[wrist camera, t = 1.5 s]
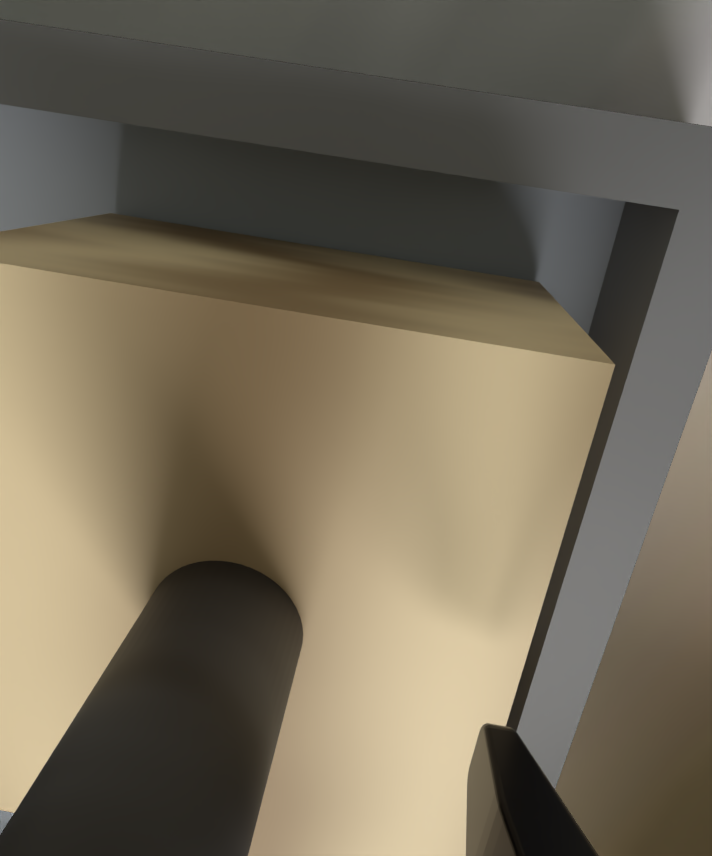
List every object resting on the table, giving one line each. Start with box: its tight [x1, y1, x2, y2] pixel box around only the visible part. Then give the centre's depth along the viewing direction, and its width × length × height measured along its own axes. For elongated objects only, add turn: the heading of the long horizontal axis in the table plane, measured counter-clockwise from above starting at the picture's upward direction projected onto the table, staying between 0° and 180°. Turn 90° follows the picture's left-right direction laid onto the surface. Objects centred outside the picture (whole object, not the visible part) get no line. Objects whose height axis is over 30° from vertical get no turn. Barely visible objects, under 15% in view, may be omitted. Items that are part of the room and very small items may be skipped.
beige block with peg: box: [0, 213, 615, 856], centre depth 11 cm, size 9×10×11 cm
